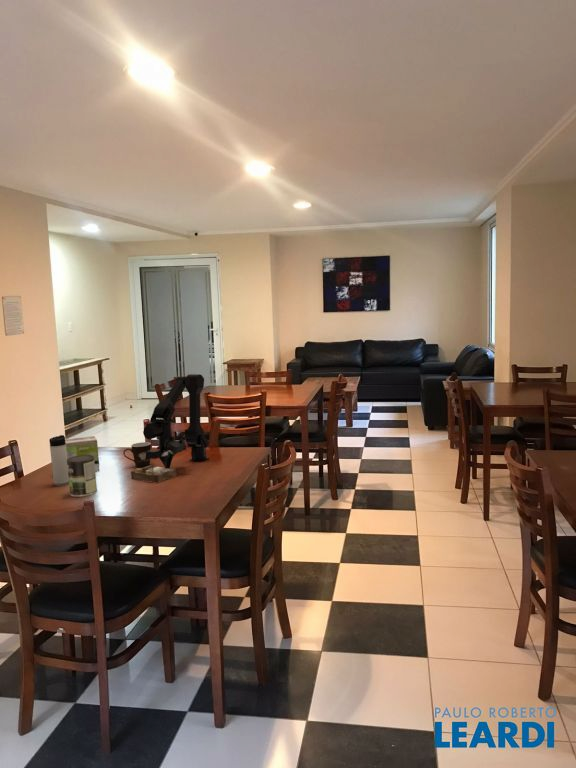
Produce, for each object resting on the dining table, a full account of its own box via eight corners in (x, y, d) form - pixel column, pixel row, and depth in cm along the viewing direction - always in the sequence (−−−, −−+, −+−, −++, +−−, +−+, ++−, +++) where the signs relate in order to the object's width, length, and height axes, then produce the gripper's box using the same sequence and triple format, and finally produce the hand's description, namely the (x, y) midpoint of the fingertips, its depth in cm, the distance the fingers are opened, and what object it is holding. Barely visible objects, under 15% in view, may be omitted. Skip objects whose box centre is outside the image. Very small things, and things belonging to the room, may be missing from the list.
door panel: (158, 472, 268) (157, 464, 268) (176, 475, 262) (175, 467, 261) (146, 476, 263) (145, 468, 262) (164, 479, 256) (163, 471, 256)
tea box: (64, 477, 268) (61, 443, 266) (62, 471, 277) (59, 439, 275) (100, 471, 274) (97, 439, 272) (97, 466, 283) (94, 435, 281)
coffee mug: (155, 463, 283) (153, 441, 282) (149, 468, 275) (147, 446, 273) (130, 463, 284) (128, 442, 283) (123, 469, 276) (121, 447, 274)
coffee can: (72, 498, 236) (69, 462, 234) (68, 492, 244) (64, 457, 243) (100, 493, 240) (96, 458, 239) (94, 487, 249) (91, 453, 248)
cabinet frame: (151, 471, 268) (150, 462, 268) (176, 476, 259) (175, 465, 259) (131, 478, 259) (130, 468, 259) (156, 483, 250) (155, 472, 250)
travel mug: (73, 481, 259) (68, 435, 257) (63, 486, 253) (58, 438, 251) (61, 481, 261) (56, 434, 259) (50, 485, 255) (45, 438, 253)
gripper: (161, 440, 251) (165, 477, 254) (194, 431, 267) (196, 466, 269) (143, 438, 258) (146, 474, 260) (175, 429, 273) (178, 463, 275)
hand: (167, 469), depth 266 cm, fingers closed
